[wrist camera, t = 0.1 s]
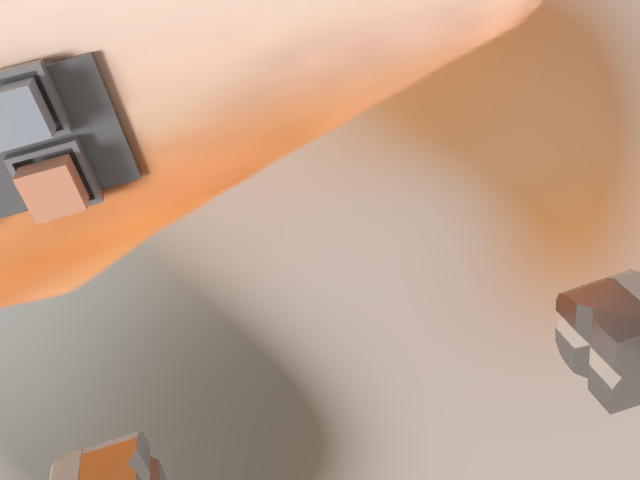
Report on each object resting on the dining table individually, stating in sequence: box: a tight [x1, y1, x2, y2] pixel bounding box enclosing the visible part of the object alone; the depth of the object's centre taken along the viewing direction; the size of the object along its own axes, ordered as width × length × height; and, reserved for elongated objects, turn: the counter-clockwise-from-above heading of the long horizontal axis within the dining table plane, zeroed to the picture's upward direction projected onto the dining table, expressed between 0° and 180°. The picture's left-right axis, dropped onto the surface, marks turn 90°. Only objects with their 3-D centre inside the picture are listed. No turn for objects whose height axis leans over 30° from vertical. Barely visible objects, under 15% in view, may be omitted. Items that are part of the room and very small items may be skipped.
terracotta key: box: [12, 154, 89, 225], centre depth 53 cm, size 4×4×3 cm
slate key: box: [0, 77, 57, 152], centre depth 49 cm, size 4×4×3 cm
